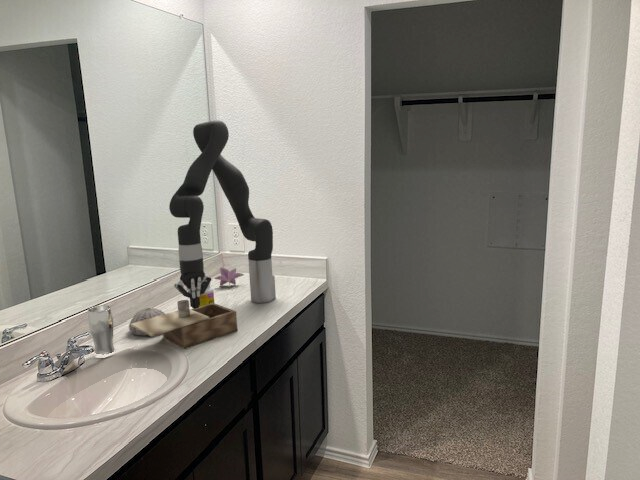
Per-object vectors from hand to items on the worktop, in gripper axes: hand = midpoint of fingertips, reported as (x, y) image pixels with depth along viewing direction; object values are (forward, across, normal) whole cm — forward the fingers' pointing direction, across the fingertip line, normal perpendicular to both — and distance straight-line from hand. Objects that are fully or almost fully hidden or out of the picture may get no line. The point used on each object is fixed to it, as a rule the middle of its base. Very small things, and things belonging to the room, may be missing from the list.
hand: (195, 307), depth 169 cm
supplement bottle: (+10, -13, -16) cm, 23 cm away
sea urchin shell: (+10, +9, -17) cm, 22 cm away
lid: (+2, +9, 0) cm, 10 cm away
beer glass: (+10, +28, -8) cm, 31 cm away
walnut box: (+10, -1, 0) cm, 10 cm away
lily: (+10, -40, -40) cm, 58 cm away
